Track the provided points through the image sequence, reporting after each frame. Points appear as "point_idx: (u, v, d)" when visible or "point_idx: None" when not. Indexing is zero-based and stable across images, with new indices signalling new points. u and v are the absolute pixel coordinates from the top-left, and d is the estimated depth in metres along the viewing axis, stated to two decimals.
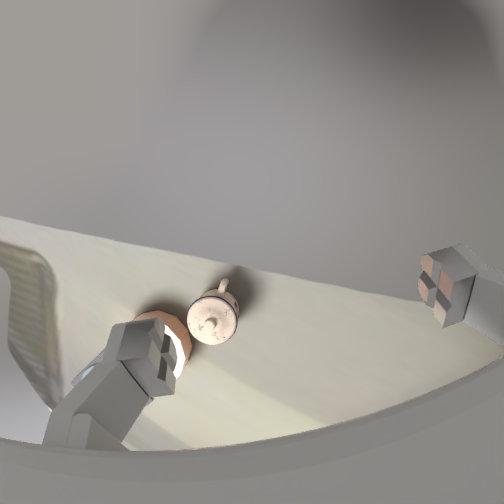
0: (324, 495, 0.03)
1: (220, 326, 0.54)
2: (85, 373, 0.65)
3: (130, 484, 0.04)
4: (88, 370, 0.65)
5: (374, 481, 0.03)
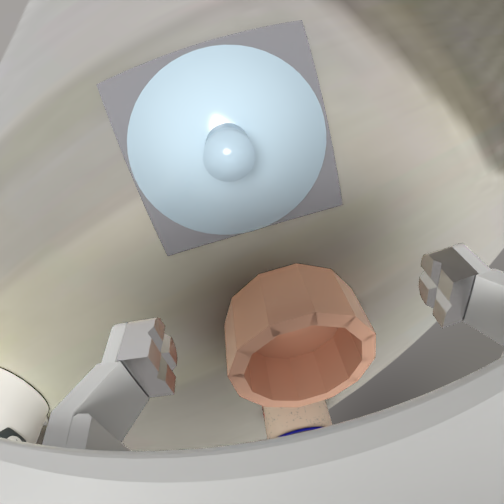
0: (324, 495, 0.03)
1: None
2: (316, 108, 0.22)
3: (130, 484, 0.04)
4: (320, 126, 0.22)
5: (374, 481, 0.03)
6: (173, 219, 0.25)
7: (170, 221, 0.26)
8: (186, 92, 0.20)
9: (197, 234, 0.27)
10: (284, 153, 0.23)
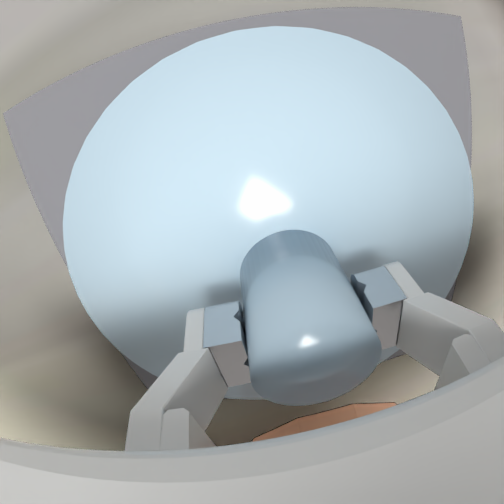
0: (324, 495, 0.03)
1: None
2: (466, 206, 0.10)
3: (130, 484, 0.04)
4: (463, 240, 0.10)
5: (374, 481, 0.03)
6: None
7: None
8: (200, 146, 0.08)
9: None
10: None
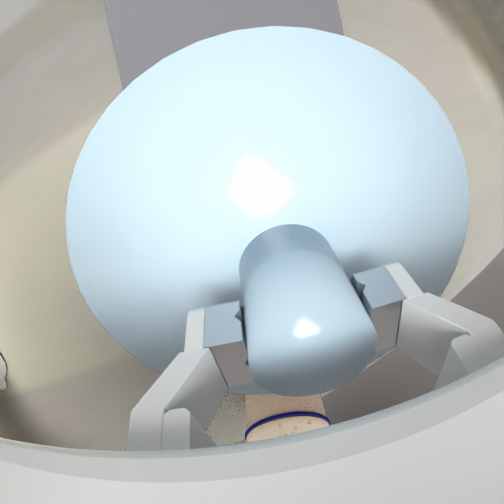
0: (324, 495, 0.03)
1: None
2: (462, 202, 0.10)
3: (130, 484, 0.04)
4: (459, 235, 0.11)
5: (374, 481, 0.03)
6: None
7: None
8: (200, 142, 0.08)
9: None
10: None
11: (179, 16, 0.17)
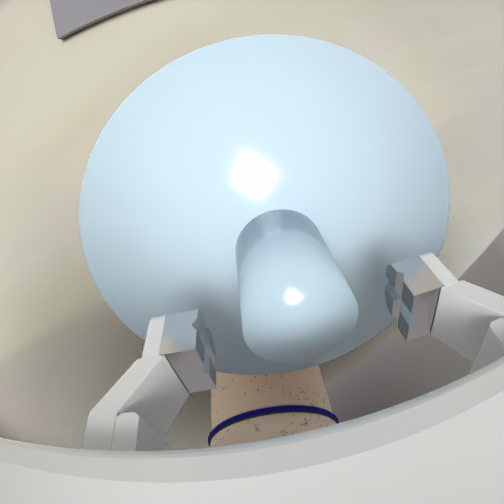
0: (324, 495, 0.03)
1: None
2: (442, 191, 0.11)
3: (130, 484, 0.04)
4: (441, 222, 0.12)
5: (374, 481, 0.03)
6: None
7: None
8: (201, 136, 0.09)
9: None
10: (376, 265, 0.13)
11: None
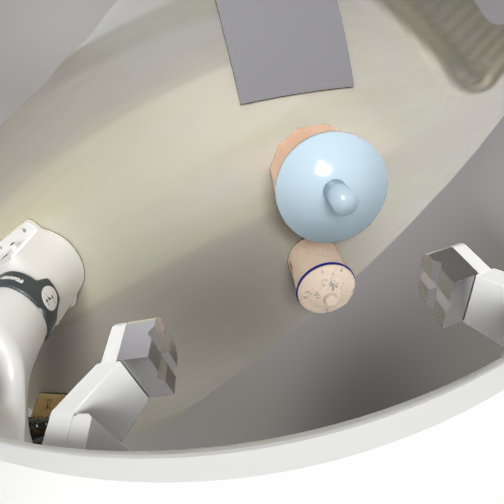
0: (324, 495, 0.03)
1: (320, 304, 0.45)
2: (384, 174, 0.38)
3: (129, 484, 0.04)
4: (384, 184, 0.39)
5: (374, 481, 0.03)
6: (295, 231, 0.41)
7: (247, 80, 0.37)
8: (318, 158, 0.36)
9: (263, 91, 0.38)
10: (363, 198, 0.40)
11: (261, 23, 0.33)
